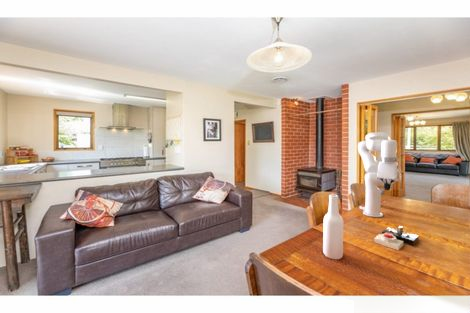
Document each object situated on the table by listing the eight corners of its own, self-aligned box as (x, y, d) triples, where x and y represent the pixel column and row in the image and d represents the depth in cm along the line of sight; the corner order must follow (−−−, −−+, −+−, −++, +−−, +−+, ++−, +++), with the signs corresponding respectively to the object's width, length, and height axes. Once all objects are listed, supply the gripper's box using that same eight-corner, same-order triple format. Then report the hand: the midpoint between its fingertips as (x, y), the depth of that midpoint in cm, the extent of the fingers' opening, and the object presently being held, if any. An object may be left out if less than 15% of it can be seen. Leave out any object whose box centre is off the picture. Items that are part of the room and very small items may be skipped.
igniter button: (383, 236, 110) (383, 233, 110) (385, 234, 112) (385, 231, 112) (391, 239, 107) (391, 236, 107) (393, 237, 109) (393, 234, 109)
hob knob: (399, 231, 117) (399, 225, 117) (402, 232, 116) (403, 226, 115) (397, 234, 114) (397, 227, 114) (400, 234, 113) (400, 228, 113)
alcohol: (342, 262, 94) (343, 198, 92) (321, 256, 99) (322, 196, 97) (343, 252, 102) (344, 194, 100) (324, 248, 106) (325, 192, 104)
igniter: (373, 242, 112) (373, 234, 112) (379, 237, 117) (379, 230, 116) (398, 250, 103) (398, 242, 103) (403, 245, 108) (403, 237, 108)
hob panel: (381, 236, 118) (382, 231, 118) (387, 231, 124) (388, 226, 124) (413, 246, 107) (413, 240, 106) (418, 240, 113) (418, 234, 112)
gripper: (405, 160, 120) (404, 191, 122) (376, 159, 132) (375, 186, 133) (401, 161, 116) (400, 193, 117) (371, 159, 128) (371, 188, 129)
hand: (387, 189), depth 125 cm, fingers closed
